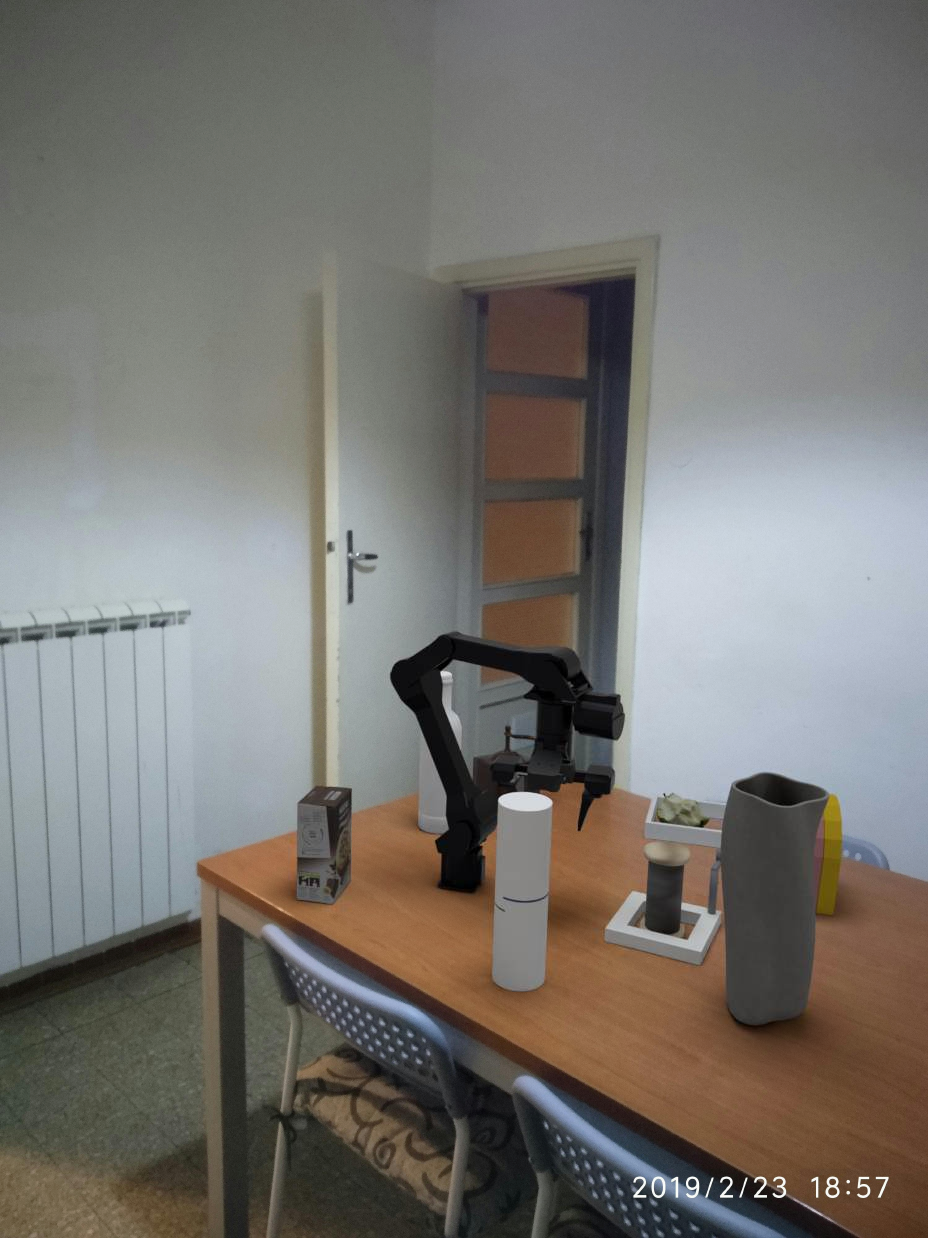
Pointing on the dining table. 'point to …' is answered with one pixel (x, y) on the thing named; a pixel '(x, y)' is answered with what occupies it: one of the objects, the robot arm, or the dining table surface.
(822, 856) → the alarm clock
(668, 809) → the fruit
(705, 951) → the rectangular frame
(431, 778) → the bottle
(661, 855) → the disc
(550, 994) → the dining table surface
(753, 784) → the vase
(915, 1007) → the dining table surface
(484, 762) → the coffee grinder
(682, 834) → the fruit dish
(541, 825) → the cylindrical container
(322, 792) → the coffee box
